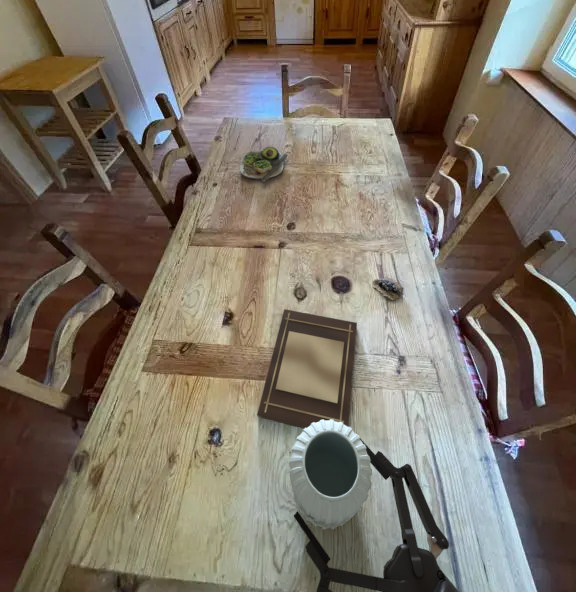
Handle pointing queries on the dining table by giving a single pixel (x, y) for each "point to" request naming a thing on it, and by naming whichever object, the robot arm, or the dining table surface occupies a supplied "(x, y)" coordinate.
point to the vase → (329, 473)
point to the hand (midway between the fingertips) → (327, 474)
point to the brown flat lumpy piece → (388, 288)
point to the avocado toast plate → (262, 164)
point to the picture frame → (309, 371)
